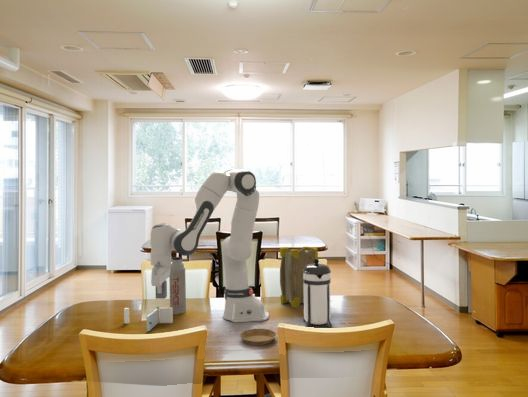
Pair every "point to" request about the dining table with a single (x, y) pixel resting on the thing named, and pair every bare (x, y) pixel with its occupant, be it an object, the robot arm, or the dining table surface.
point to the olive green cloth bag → (294, 273)
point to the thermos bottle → (177, 286)
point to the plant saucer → (258, 336)
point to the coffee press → (317, 294)
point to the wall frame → (164, 314)
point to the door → (152, 319)
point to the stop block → (164, 291)
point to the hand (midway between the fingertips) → (161, 291)
